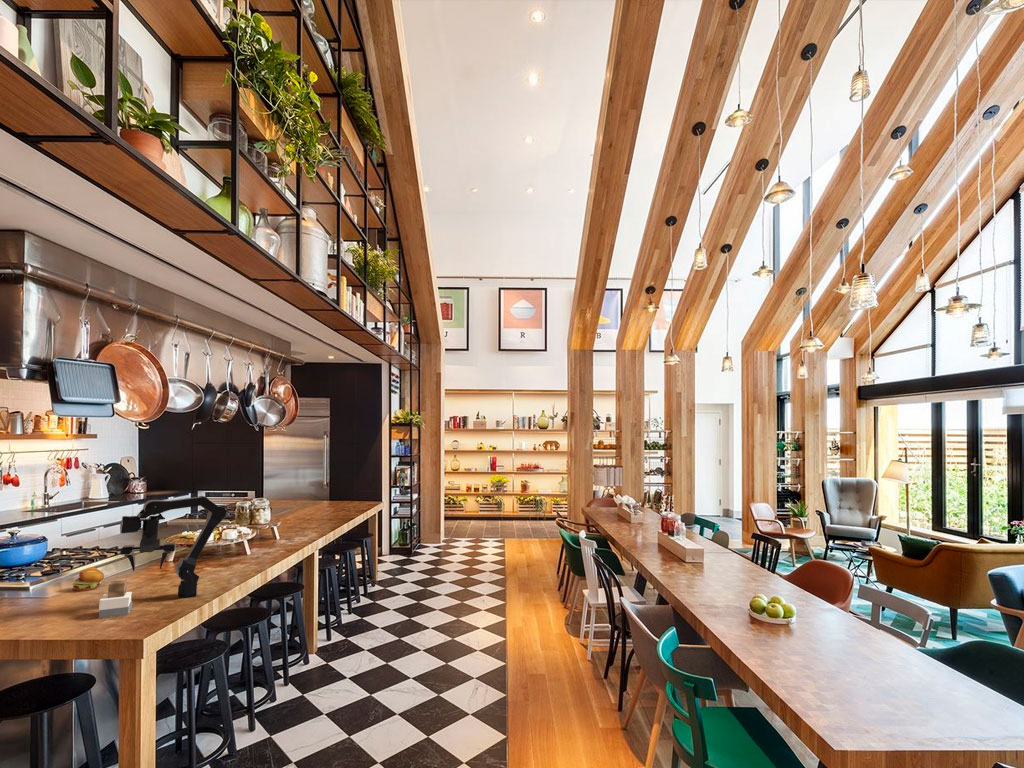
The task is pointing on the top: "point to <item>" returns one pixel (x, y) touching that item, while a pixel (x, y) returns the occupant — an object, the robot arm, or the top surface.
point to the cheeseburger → (88, 579)
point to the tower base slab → (115, 611)
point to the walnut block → (117, 589)
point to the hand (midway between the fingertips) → (147, 569)
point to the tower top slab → (115, 601)
